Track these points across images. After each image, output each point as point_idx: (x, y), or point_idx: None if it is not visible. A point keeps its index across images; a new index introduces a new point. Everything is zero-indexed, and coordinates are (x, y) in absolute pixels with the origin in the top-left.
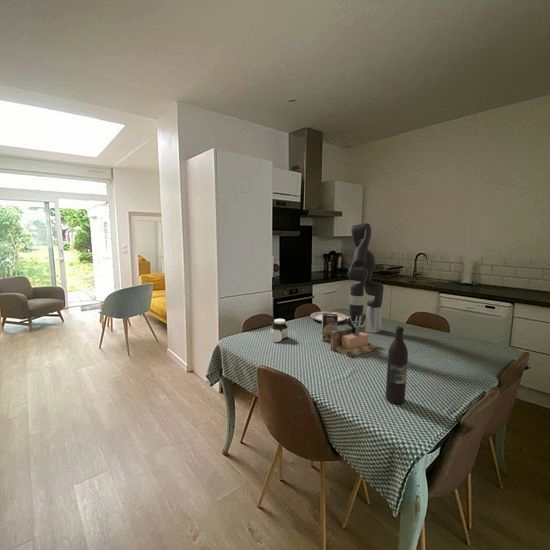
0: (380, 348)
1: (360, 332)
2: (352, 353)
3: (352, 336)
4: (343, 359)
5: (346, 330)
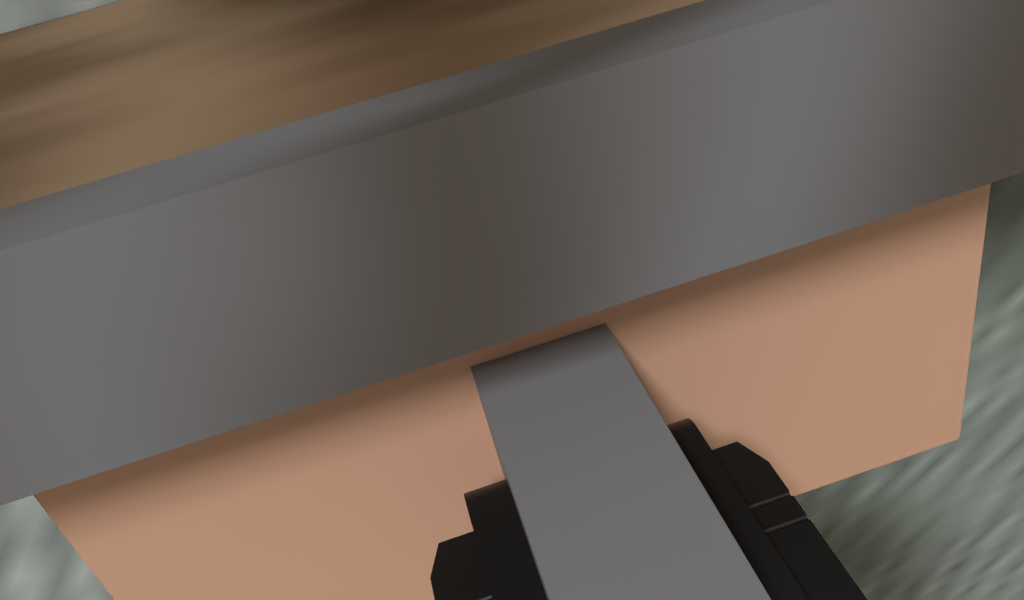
0: (996, 205)
1: (903, 240)
2: None
3: (393, 555)
4: (17, 581)
5: (283, 396)
